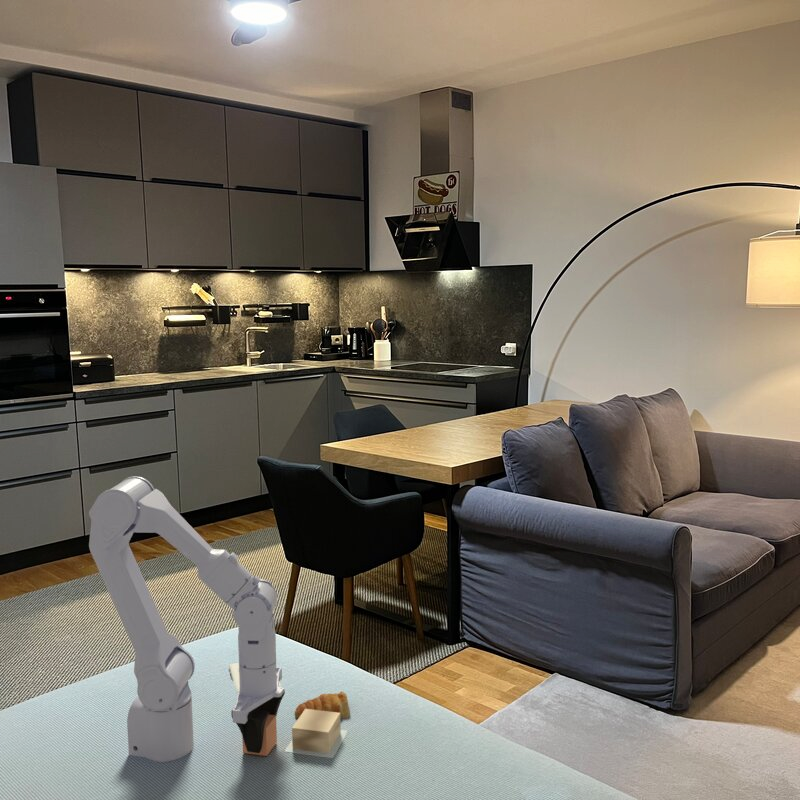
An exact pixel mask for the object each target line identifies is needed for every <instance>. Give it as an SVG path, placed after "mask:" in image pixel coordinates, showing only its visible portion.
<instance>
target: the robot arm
mask: <svg viewBox="0 0 800 800" xmlns="http://www.w3.org/2000/svg"><path fill="white" fill-rule="evenodd" d="M88 515H89V516H88V517H89V518H90V520H91V521H90V532H89V542H88V547H89V551H90V554H91V556H92V559H93V561H94V563H95V565H96V567H97V569H98V571H99V574H100V576H101V578H102V581H103V583H104V584H105V587H106V590H107V591H108V594H109V596H110V599H111V601H112V603H113V605H114V607H115V610H116V611H117V614H118V616H119V618H120V621H121V623H122V626H123V628H124V630H125V632H126V633H127V634H126V635H127V636H128V639H129V641H130V643H131V645H132V648H133V650H134V652H135V654H134V655H135V656H134V666H133V673H134V675H135V679H136V682H137V691H136V692H137V696H136V698H134V700H133V701H132V702H131V705H130V706H129V710H128V713H127V719H126V725H127V726H126V729H127V745H128V747H127V748H128V755H129V756H134V757H139V758H140V757H141V758H147V759H149V760H151V761H154V762H159V763H167V762H172V761H175V760H179V759H181V758H183V757H186V756H187V755H188V754H190V753H191V751H192V750H194V749H193V748H194V741H195V740H194V722H193V721H194V720H193V696H192V690H191V687H190V685H189V681H190V679H191V678H192V677H193V675H194V672H195V666H196V665H195V660H194V657H193V656H192V654H190V652H189V651H187V650H186V649H185V648H184V647H183V645H182V644H181V642H180V641H179V639H178V637H177V636H175V635H173V634H171V633H168V630H167V628H166V625H165V623H164V621H163V619H162V617H161V614H160V612H159V609H158V608H157V605H156V603H155V601H154V599H153V596H152V594H151V591H150V590H149V587H148V584H147V582H146V580H145V578H144V576H143V574H142V572H141V570H140V568H139V564H138V562H137V560H136V558H135V556H134V553H133V551H132V549H131V547H130V541H131V538H132V537H133V534H134V533H143V534H144V533H146V534H147V533H149V534H151V533H152V534H153V533H155V534H157V535H159V536H160V537H161V538H163V539H164V540H165V541H166V542H167V543H168V544H170V545H171V546H172V547H173V548H175V549H176V550H177V551H178V552H180V554H182V555H183V556H184V557H185V558H187V559H188V560H189V561H191V562H192V563H193V564H194V565H196V568H197V578H198V579H199V580H200V582H202V583H203V584H204V585H205V586H206V587H208V589H210V591H212V593H214V594H215V595H216V596H217V597H218V598H219V599H220V600H222V602H224V603H225V604H226V605H227V606H228V607H229V608H231V609H233V611H232V612H231V613H232V614H231V615H232V618H233V620H234V622H235V623H236V624H237V626H238V633H237V644H238V645H237V646H238V647H237V648H238V663H239V682H240V687H239V689H238V691H237V695H236V702H235V706H234V707H233V709H232V710H231V719H232V723H235V724H236V726H237V727H238V729H239V730H240V733H241V737H242V736H243V738H242V740H243V739H244V743H245V746H246V749H247V751H248V752H254V753H260V751H261V748H262V743H263V732H264V727H265V723H266V720H267V717H268V715H276V717H277V715H278V712H279V707H280V705H281V703H282V700H283V698H284V696H285V695H286V692H285V691H286V690H285V688H284V687H282V686H281V687H279V682H281V680H282V679H283V669H282V667H278V666H277V642H276V641H277V639H276V637H277V636H276V635H277V634H276V629H275V625H276V624H275V614H274V610H276V609H275V608H276V606H277V602H278V593H277V590H276V588H274V586H273V585H272V583H271V582H270V581H269V580H266V579H263V578H260V577H259V576H258V575H255V576H254V575H253V573H251V572H250V571H249V570H248V569H247V568H246V567H245V566H243V565H242V563H240V561H238V559H239V556H238V555H237V554H236V553H235V552H233V551H232V552H231V553H229V551H228V550H226V549H223V548H222V549H215V548H213V547H212V546H211V545H210V544H209V543H208V542H207V541H206V540H205V539H204V538H203V536H201V535H200V534H199V532H197V531H196V530H195V529H194V528H193V526H192V525H190V524H189V522H187V520H186V519H185V517H183V516H182V515H181V514H180V513H179V512H178V511H177V510H176V509H175V508H174V507H173V506H172V505H171V503H170V501H169V500H168V499H167V497H166V496H165V495H164V493H163V492H162V491H161V490H160V489H157V488H154V486H153V484H152V483H151V482H150V481H149V480H148V479H146V478H144V477H142V476H137V475H136V476H135V475H134V476H133V475H132V476H128V477H125V479H123V480H122V481H120V483H118V484H116V485H114V486H113V487H112V488H110V489H106V490H104V491H103V492H102V493H100V494H99V495H98V496H97V497H96V499H95V501H94V503H93V505H92V506H91V508H90V510H89V511H88Z"/></svg>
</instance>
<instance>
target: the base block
mask: <svg viewBox="0 0 800 800" xmlns="http://www.w3.org/2000/svg"><path fill="white" fill-rule="evenodd" d="M341 730H342V728H341V719H340V713H337V712H329V711H321V710H312V709H305V710H304V711H303V713H302V714H301V716H300V717H299V719H298V718H297V720H296V721H295V723H294V724H293V726H292V727H291V735H292V737H291V741H292V745H293V749H298V750H306V751H313V752H321V753H329V752H330V751H331V749H332V747H333V746H334V744H335V742H336V740H337V739H338V737H339V735H340V733H341Z"/></svg>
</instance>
